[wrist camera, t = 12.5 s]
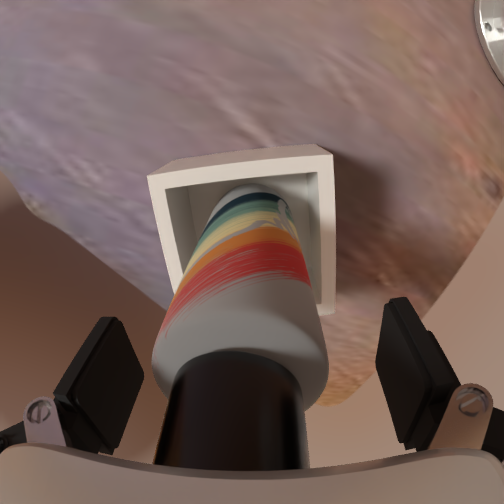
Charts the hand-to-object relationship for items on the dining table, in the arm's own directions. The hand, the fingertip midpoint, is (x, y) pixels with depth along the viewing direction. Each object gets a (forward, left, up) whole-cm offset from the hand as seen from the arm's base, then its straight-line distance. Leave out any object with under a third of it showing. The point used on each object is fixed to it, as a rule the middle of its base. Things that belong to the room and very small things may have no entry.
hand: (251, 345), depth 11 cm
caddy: (0, 0, -15) cm, 15 cm away
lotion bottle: (0, 0, -14) cm, 14 cm away
